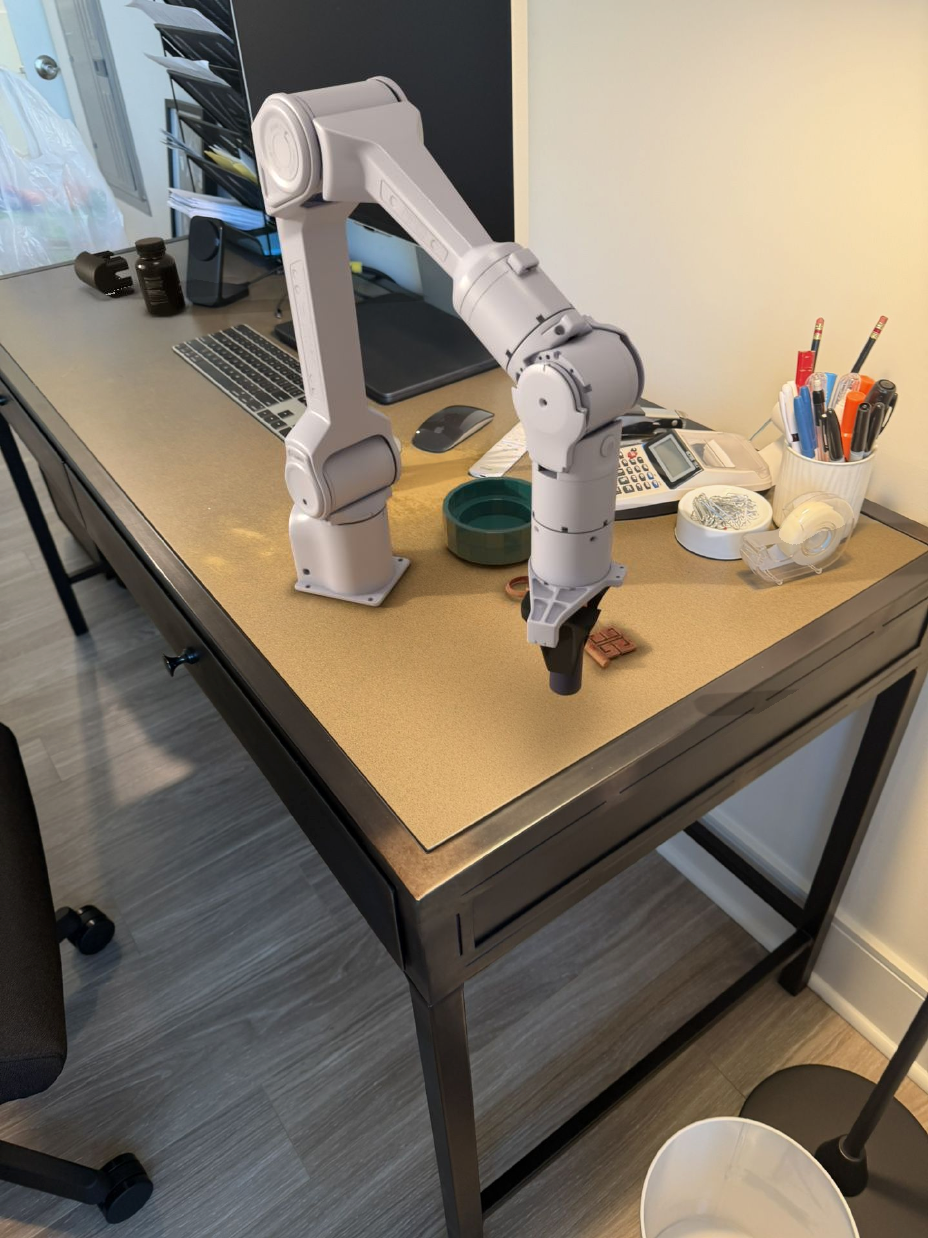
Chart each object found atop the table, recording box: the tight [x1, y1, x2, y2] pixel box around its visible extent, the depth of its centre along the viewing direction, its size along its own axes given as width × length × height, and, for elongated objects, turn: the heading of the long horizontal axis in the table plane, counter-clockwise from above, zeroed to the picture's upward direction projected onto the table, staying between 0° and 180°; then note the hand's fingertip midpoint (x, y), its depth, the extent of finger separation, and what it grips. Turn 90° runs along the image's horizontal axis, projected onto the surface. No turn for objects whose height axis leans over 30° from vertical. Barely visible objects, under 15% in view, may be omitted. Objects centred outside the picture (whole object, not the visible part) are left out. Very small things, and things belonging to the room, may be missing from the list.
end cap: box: [73, 250, 135, 299], centre depth 162 cm, size 10×7×7 cm
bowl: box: [441, 476, 532, 566], centre depth 91 cm, size 11×11×4 cm
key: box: [505, 575, 638, 669], centre depth 81 cm, size 6×1×15 cm
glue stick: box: [548, 603, 587, 697], centre depth 67 cm, size 3×3×9 cm
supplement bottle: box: [134, 236, 187, 317], centre depth 150 cm, size 7×7×12 cm
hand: (566, 658), depth 68 cm, fingers closed on glue stick, 2 cm apart
